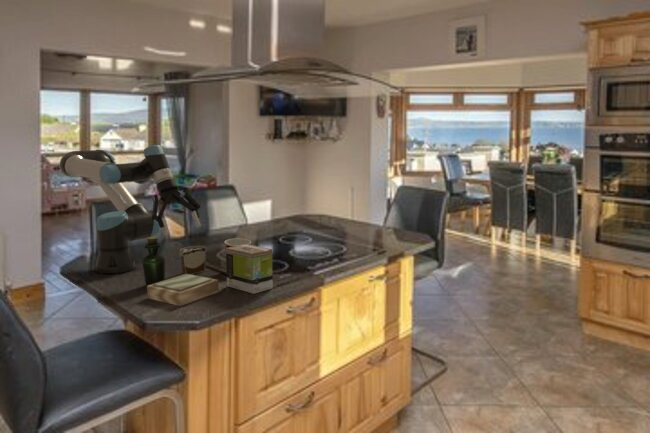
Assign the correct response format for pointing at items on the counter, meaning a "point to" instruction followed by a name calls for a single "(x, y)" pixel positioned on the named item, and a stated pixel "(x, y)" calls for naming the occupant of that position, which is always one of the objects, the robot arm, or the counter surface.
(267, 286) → the tea box
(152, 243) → the potion bottle
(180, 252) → the food container
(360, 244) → the counter surface
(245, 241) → the plastic cup
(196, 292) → the pedestal base
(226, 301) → the counter surface
